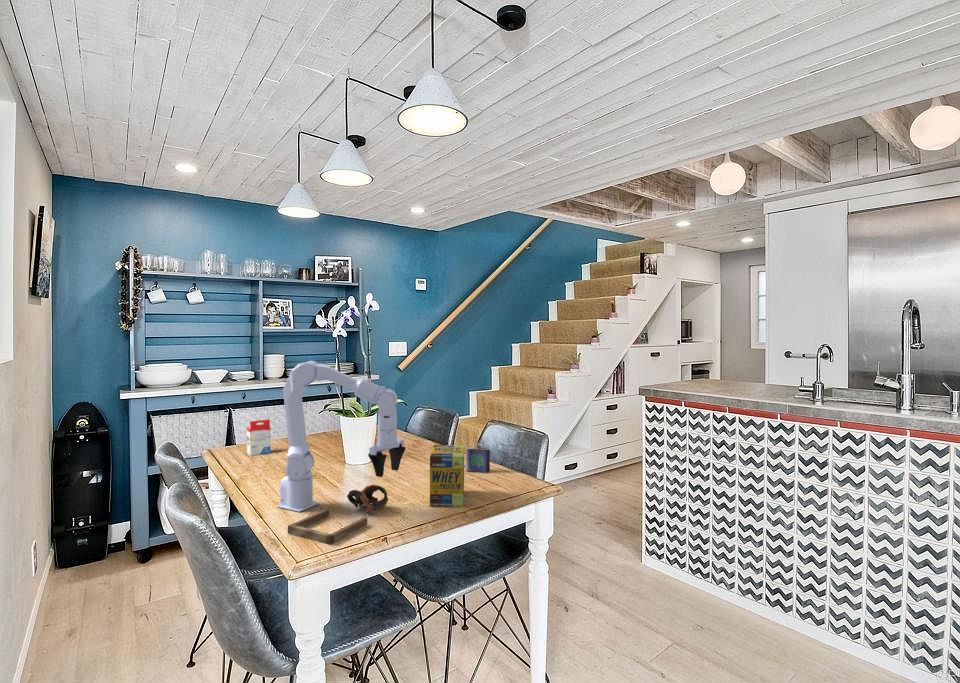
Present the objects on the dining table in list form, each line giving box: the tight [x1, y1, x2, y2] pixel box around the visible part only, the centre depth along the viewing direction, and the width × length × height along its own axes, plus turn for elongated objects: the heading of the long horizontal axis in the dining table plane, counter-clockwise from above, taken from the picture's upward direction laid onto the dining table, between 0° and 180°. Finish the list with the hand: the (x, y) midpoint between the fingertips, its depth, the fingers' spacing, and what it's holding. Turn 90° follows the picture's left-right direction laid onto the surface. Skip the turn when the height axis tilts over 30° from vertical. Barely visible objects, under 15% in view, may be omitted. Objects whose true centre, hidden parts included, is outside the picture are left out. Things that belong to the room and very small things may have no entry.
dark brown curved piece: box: [346, 484, 389, 516], centre depth 147 cm, size 12×10×8 cm
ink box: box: [246, 419, 272, 457], centre depth 213 cm, size 8×5×15 cm, turn 130°
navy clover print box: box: [465, 442, 491, 474], centre depth 188 cm, size 9×3×11 cm, turn 79°
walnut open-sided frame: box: [287, 508, 368, 545], centre depth 133 cm, size 15×14×2 cm
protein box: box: [429, 444, 465, 507], centre depth 158 cm, size 10×15×16 cm
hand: (387, 473), depth 152 cm, fingers open, 7 cm apart
